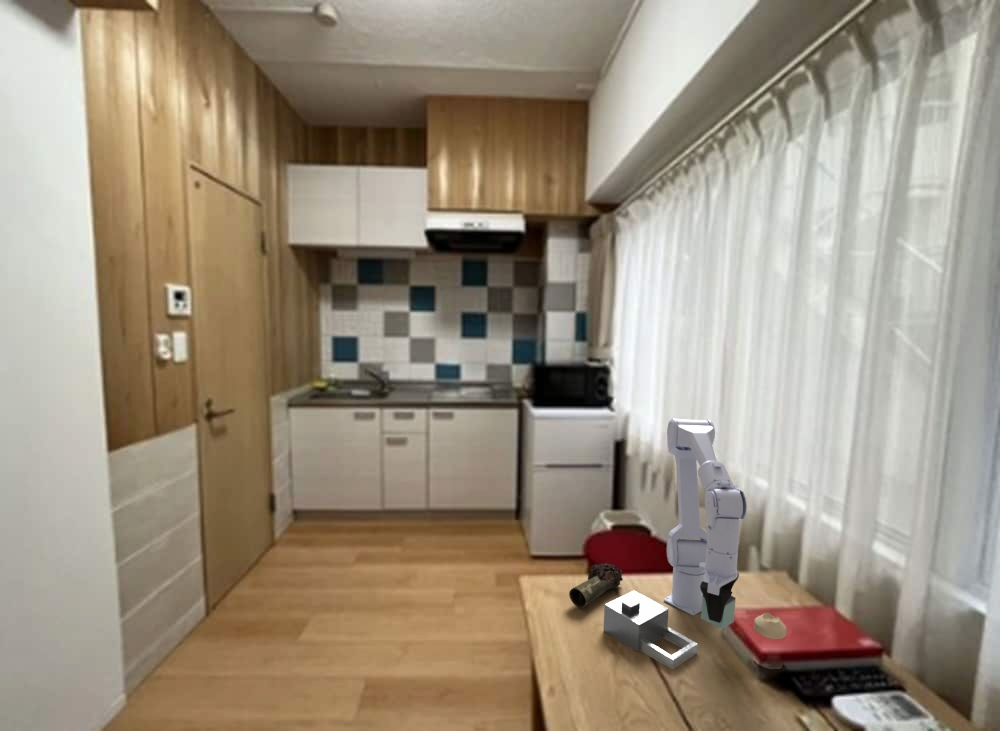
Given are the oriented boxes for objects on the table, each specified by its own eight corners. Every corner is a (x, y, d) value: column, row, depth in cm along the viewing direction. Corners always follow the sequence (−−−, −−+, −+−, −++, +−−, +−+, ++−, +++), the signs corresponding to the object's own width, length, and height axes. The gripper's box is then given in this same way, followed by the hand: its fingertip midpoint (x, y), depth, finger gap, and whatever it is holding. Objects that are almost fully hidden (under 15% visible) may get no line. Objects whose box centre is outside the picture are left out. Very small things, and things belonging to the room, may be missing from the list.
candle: (746, 655, 103) (750, 608, 102) (774, 656, 103) (777, 609, 102) (759, 674, 97) (763, 624, 96) (788, 675, 97) (792, 626, 96)
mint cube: (712, 611, 106) (714, 588, 105) (733, 621, 102) (735, 597, 102) (701, 618, 103) (702, 594, 103) (722, 629, 99) (723, 604, 99)
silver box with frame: (641, 611, 118) (642, 579, 117) (707, 648, 105) (709, 613, 104) (603, 630, 110) (605, 597, 109) (669, 673, 97) (671, 636, 96)
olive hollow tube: (585, 612, 116) (587, 588, 115) (561, 599, 120) (563, 576, 120) (625, 586, 128) (627, 565, 128) (603, 576, 133) (604, 555, 133)
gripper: (708, 531, 109) (704, 591, 111) (692, 556, 97) (688, 623, 99) (744, 539, 106) (740, 601, 107) (732, 566, 94) (727, 636, 95)
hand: (717, 612), depth 102 cm, fingers closed on mint cube, 6 cm apart
